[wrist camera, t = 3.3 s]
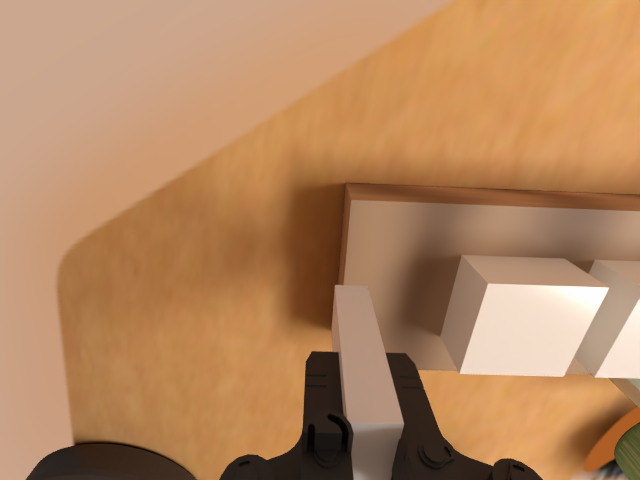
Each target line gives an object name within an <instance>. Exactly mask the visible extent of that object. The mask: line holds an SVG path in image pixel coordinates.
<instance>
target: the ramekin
mask: <svg viewBox="0 0 640 480" xmlns="http://www.w3.org/2000/svg"><path fill="white" fill-rule="evenodd" d="M614 455H615V460H616V462H617V464H618V465H619V467H620V468H621V470H622V471H623V472H624V474H625V475H626V477H627V478H628V479H629V480H640V422H639V423H638V424H636V425H634V426H633V427H631V428H630V429H629V430H628V431H626V432H625V433H624V434H623V435H622V437H621V438H620V439H619V441H618V442H617V445H616V447H615V453H614Z"/></svg>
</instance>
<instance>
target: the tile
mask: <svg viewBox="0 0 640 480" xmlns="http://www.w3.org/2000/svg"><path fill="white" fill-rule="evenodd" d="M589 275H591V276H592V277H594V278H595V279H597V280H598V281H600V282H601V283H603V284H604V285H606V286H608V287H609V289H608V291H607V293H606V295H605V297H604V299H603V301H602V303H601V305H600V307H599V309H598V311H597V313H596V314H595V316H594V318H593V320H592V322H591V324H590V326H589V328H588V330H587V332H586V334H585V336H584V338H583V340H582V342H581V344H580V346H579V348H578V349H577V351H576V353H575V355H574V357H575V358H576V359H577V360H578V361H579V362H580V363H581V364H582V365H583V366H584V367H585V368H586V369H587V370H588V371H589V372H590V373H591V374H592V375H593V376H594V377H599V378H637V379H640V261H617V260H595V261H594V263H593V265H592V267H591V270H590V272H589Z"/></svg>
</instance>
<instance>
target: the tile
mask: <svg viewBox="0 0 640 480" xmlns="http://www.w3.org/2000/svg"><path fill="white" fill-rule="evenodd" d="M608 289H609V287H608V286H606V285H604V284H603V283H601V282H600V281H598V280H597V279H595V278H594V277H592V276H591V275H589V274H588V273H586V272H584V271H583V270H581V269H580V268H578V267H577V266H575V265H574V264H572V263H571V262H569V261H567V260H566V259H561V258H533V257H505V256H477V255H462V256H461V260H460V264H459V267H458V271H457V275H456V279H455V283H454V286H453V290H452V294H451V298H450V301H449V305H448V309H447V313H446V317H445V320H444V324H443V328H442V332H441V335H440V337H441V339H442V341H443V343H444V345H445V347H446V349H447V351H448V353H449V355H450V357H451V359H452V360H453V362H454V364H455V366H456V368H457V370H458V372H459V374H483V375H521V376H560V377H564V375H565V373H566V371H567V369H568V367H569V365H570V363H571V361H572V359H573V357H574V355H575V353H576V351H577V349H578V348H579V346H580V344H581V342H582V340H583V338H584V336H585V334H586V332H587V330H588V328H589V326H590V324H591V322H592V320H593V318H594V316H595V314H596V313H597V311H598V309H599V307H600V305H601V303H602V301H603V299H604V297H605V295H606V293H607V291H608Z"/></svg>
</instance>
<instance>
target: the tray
mask: <svg viewBox="0 0 640 480" xmlns="http://www.w3.org/2000/svg"><path fill="white" fill-rule="evenodd" d="M609 379H610V380H611V381H612V382H613V383H614V384H615V385H616V386H617V387H618V388H619V389H620V390H621V391H622V392H623V393H624V394H625V395H626V396H627V397H628V398H629V399H630V400H632V401H633V402H634V403H635V404H636V405H637V406H638V407H639V408H640V379H637V378H609Z"/></svg>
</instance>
